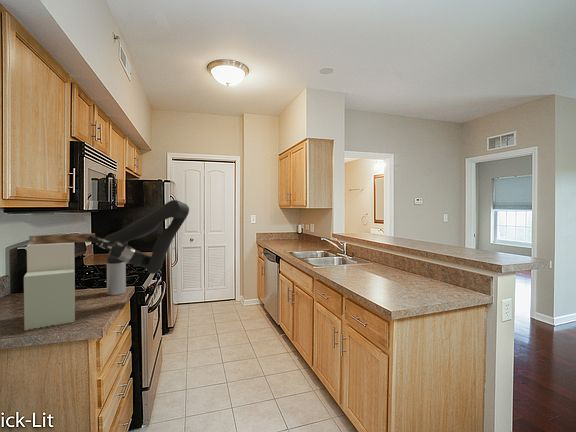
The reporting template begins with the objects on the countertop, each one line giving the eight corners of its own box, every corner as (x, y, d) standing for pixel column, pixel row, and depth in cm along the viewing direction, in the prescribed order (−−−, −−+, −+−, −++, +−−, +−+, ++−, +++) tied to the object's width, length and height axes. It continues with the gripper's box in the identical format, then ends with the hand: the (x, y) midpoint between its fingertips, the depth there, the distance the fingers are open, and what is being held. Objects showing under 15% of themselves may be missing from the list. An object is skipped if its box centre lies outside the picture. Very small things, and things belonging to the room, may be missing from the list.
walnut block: (94, 240, 144) (94, 233, 144) (95, 241, 141) (95, 233, 141) (30, 243, 130) (30, 235, 130) (29, 244, 128) (29, 236, 127)
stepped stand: (30, 315, 134) (29, 243, 133) (74, 308, 143) (74, 241, 142) (24, 330, 117) (23, 248, 116) (74, 321, 127) (74, 245, 126)
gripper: (124, 243, 156) (92, 228, 148) (128, 246, 144) (93, 230, 136) (116, 256, 154) (82, 242, 146) (119, 260, 142) (83, 245, 134)
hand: (88, 236), depth 141 cm, fingers open, 8 cm apart
